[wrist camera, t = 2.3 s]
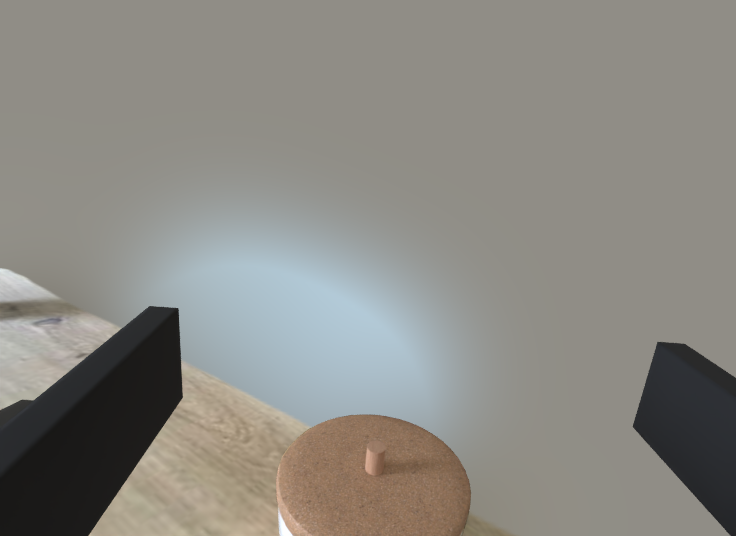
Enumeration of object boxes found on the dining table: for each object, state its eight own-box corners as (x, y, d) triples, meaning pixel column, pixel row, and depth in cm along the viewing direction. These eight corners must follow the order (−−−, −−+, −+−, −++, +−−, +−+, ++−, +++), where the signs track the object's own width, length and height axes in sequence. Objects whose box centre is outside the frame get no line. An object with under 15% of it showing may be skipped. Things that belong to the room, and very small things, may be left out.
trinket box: (440, 510, 33) (457, 398, 30) (468, 685, 22) (499, 538, 20) (292, 499, 33) (296, 386, 30) (252, 669, 22) (252, 519, 20)
